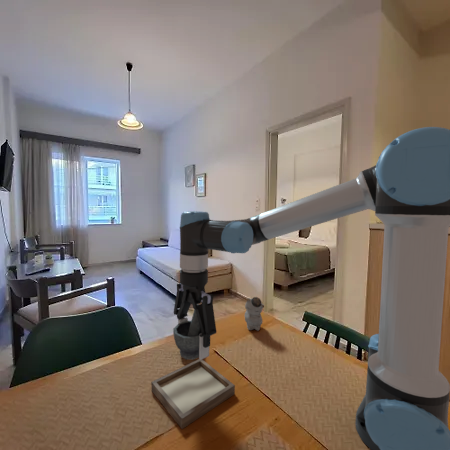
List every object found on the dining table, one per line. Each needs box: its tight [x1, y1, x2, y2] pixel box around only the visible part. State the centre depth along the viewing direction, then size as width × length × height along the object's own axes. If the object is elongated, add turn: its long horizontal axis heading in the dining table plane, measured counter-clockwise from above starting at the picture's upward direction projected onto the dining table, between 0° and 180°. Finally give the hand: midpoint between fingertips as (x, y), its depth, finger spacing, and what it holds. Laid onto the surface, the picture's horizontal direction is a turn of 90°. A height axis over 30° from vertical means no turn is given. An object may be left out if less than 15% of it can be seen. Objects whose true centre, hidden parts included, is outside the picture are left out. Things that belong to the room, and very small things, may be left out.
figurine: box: [244, 296, 265, 332], centre depth 106 cm, size 9×10×15 cm
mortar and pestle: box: [172, 303, 202, 361], centre depth 70 cm, size 11×9×12 cm
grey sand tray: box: [150, 358, 236, 430], centre depth 71 cm, size 16×17×3 cm
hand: (192, 348), depth 70 cm, fingers closed on mortar and pestle, 10 cm apart
